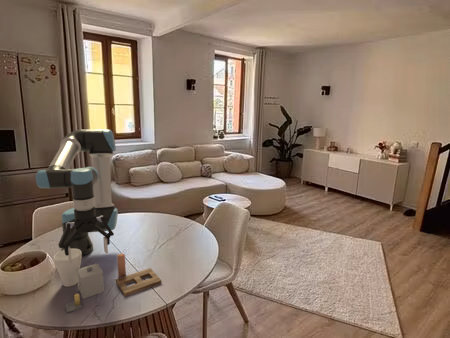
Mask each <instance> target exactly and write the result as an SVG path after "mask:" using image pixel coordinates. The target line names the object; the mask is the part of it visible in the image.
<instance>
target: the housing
mask: <svg viewBox="0 0 450 338" xmlns="http://www.w3.org/2000/svg"><path fill="white" fill-rule="evenodd" d="M77 273H78V283H77V284H78V290H79V294H80V295H81V297H82V299H86V298H90V297H92V296H96V295H99V294H101V293H104V292H105V290H104V276H103V275H104V273H103V270H102V268H101V266H100V265H99V264H98V263H94V264H90V265H87V266H84V267H80V268H79V269H77Z"/></svg>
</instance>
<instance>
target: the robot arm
mask: <svg viewBox="0 0 450 338" xmlns="http://www.w3.org/2000/svg"><path fill="white" fill-rule="evenodd" d="M115 141H116V140H115V136H114V132H113V131H112V130H111V129H107V128H106V129H104V128H99V129H96V128H94V129H93V128H89V129H87V128H86V129H85V128H83V129H76V130H73V131H71V132H70V133H68V134H67V135H65V136H64V137H63V138H62V139H61V141H60V143H59V149H58V151H56V153H55V156H54V158H53V159H52V160H51V162H50V164H49V166H48V168H47V169H41V170H38V171H37V172H36V174H35V182H36V183H35V184H36V186H37V187H38V188H40V189H48V190H50V189H61V188H62V189H63V188H64V189H65V188H71V192H72V193H71V194H72V204H73V207H72V208H69V209H67V210H65V211H63V213H61V221H60V222H61V227H62V235H61V238H60V239H59V242H58V243H57V244H58V248H59V249H60V251H63V250H64V251H65V255H66V256H67V255H68V259H69V263H72V258H71V249H79V250H81V252H82V257H84V256H87V255H88V254H90V253H92V252H93V251H94V245H93V241H92V240H91V238H90V235H89V233H96V232H97V233H99V234H101V235H102V236H103V248H104V250H103V251H104V252H105V254H106V255H107V254H109V249H108V246H109V245H110V244H111V243H110V240H111V237H113V236H114V234H115V233H114V232H113V230H115V229H116V228H117V227H116V226H117V221H118V213H119V212H118V211H119V210H118V208H116V205H115V204H114V203H113V202H112V184H111V183H112V180H111V157H112V156H113V155H114V154H113V153H114V152H115V151H117V148H116V142H115ZM81 152H82V153H83V152H88V153H89V154H88V155H89V156H90V157H91V158H92V166H85V167H79V168H71V166H72V164H73V162H74V160H75V158H76V156H77V155H78V154H79V153H81Z"/></svg>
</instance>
